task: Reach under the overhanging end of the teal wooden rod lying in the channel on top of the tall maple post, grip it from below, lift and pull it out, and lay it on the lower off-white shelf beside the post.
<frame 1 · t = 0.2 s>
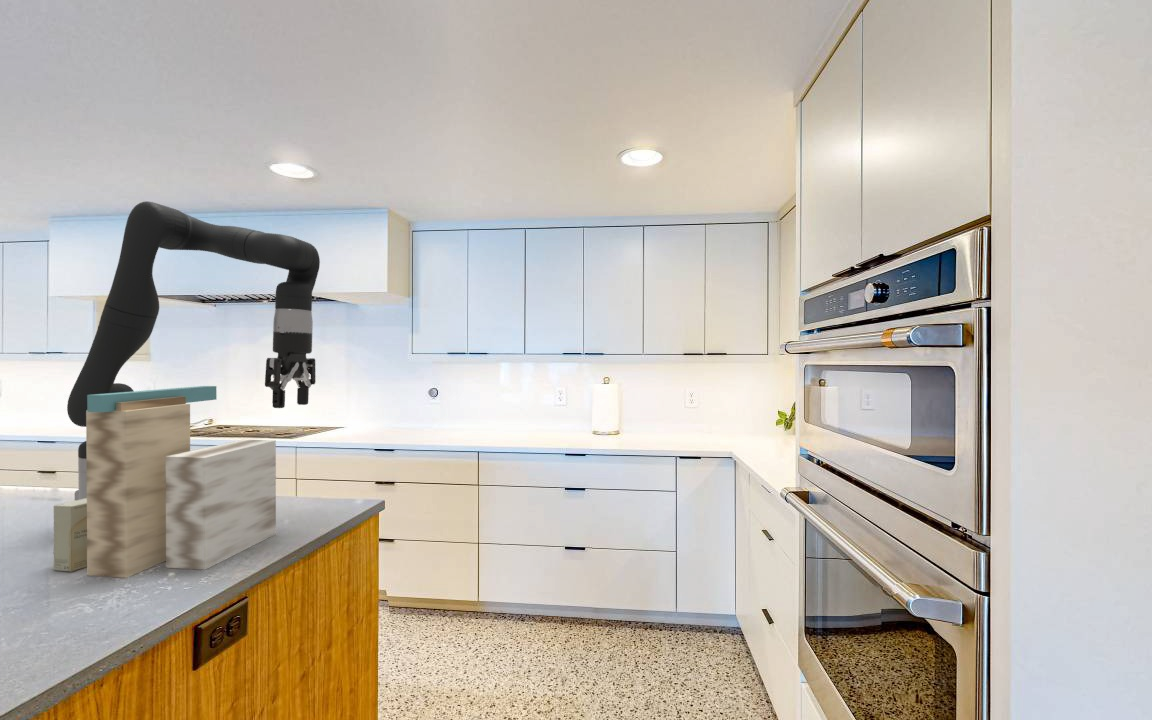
hand: (291, 406, 117), 29 cm above the counter, tool pointing down, fingers open, 8 cm apart
rod: (159, 405, 108), point 30 cm above the counter, touching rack
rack: (180, 557, 107), on the counter
skincare box: (80, 566, 103), on the counter
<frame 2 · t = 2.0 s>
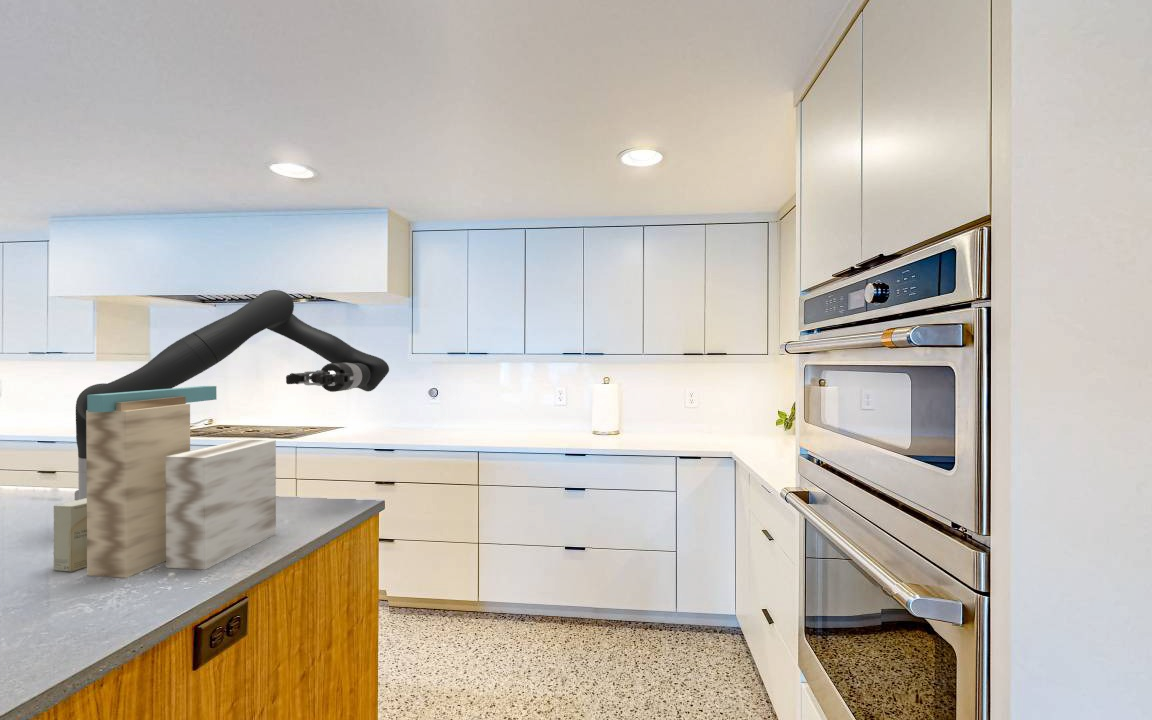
hand: (304, 379, 129), 34 cm above the counter, tool horizontal, fingers open, 8 cm apart
nothing on the counter moved.
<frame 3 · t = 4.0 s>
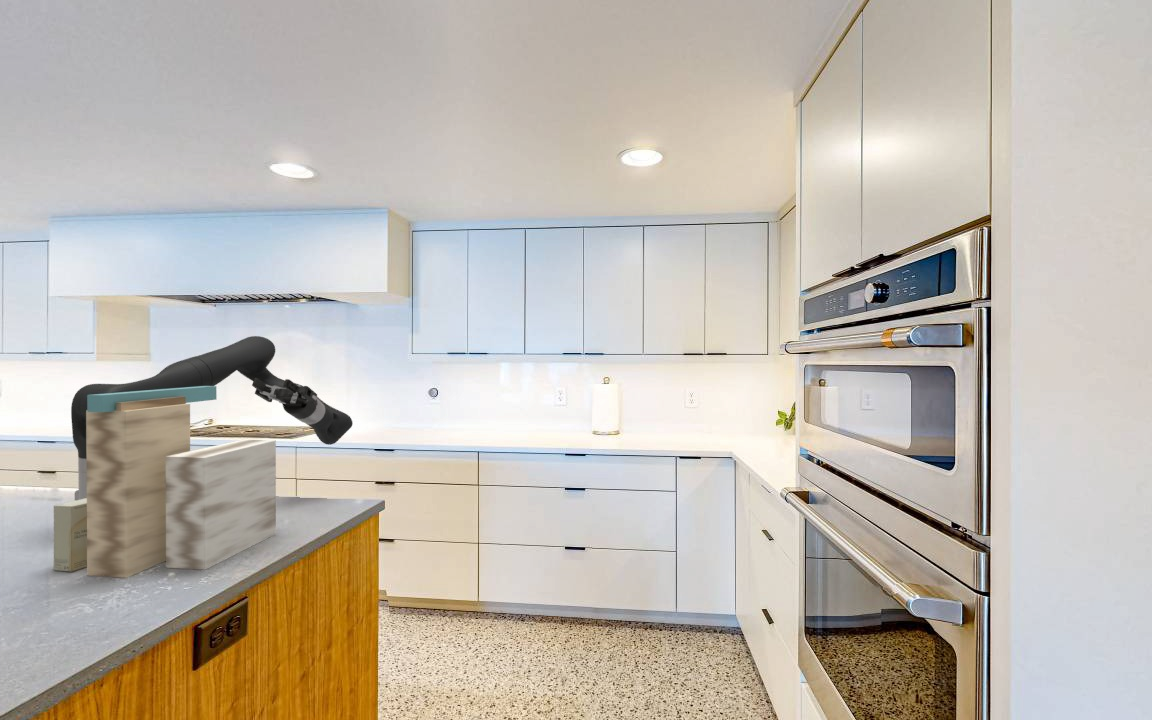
hand: (270, 382, 137), 33 cm above the counter, tool pointing upward, fingers open, 8 cm apart
nothing on the counter moved.
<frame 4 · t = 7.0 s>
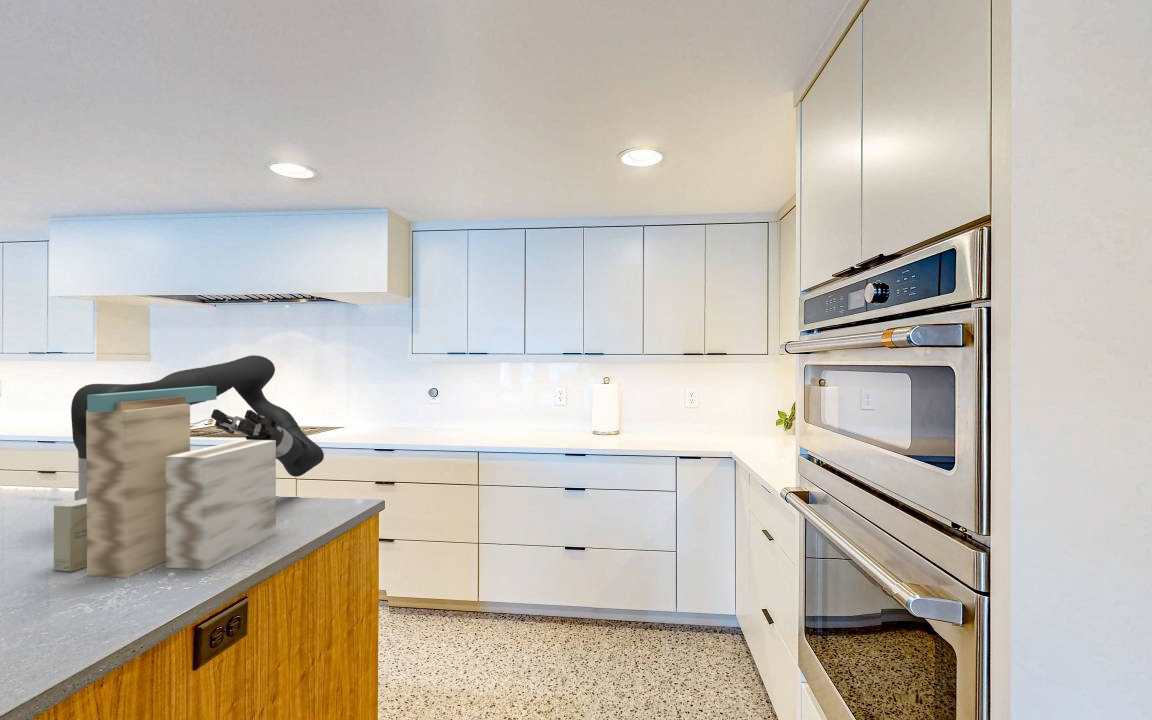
hand: (230, 413, 127), 26 cm above the counter, tool pointing upward, fingers open, 8 cm apart
nothing on the counter moved.
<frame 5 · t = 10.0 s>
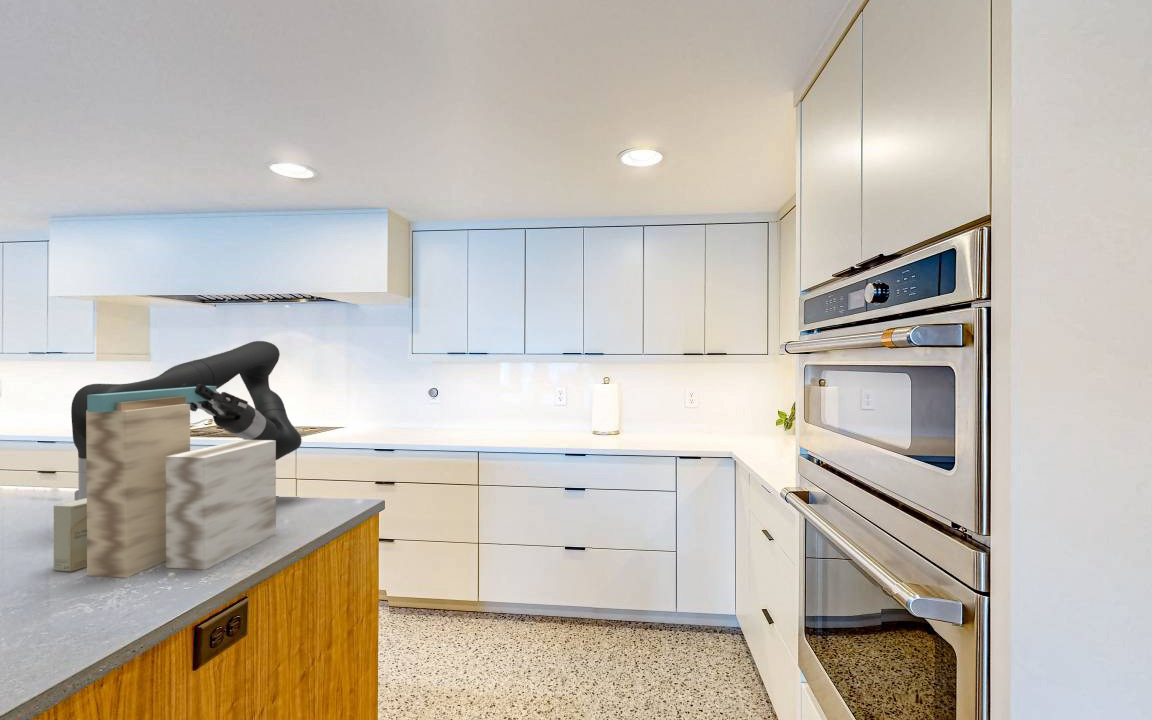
hand: (190, 387, 116), 33 cm above the counter, tool pointing upward, fingers closed on rod, 3 cm apart
rod: (159, 405, 108), point 30 cm above the counter, touching gripper, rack
everything else where it was.
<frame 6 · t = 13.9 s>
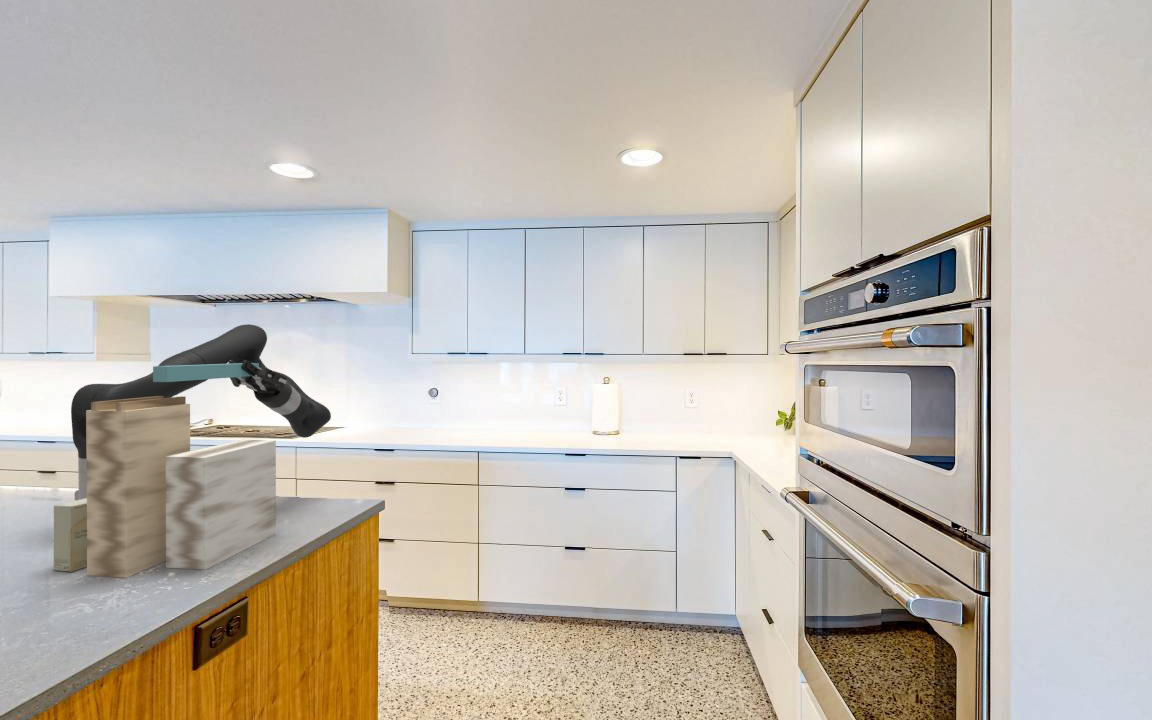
hand: (236, 363, 126), 38 cm above the counter, tool pointing upward, fingers closed on rod, 3 cm apart
rod: (211, 378, 118), point 35 cm above the counter, touching gripper
everything else where it was.
when the fingers open (26 cm above the counter, at t = 18.0 s): rod drops 2 cm, resting on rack.
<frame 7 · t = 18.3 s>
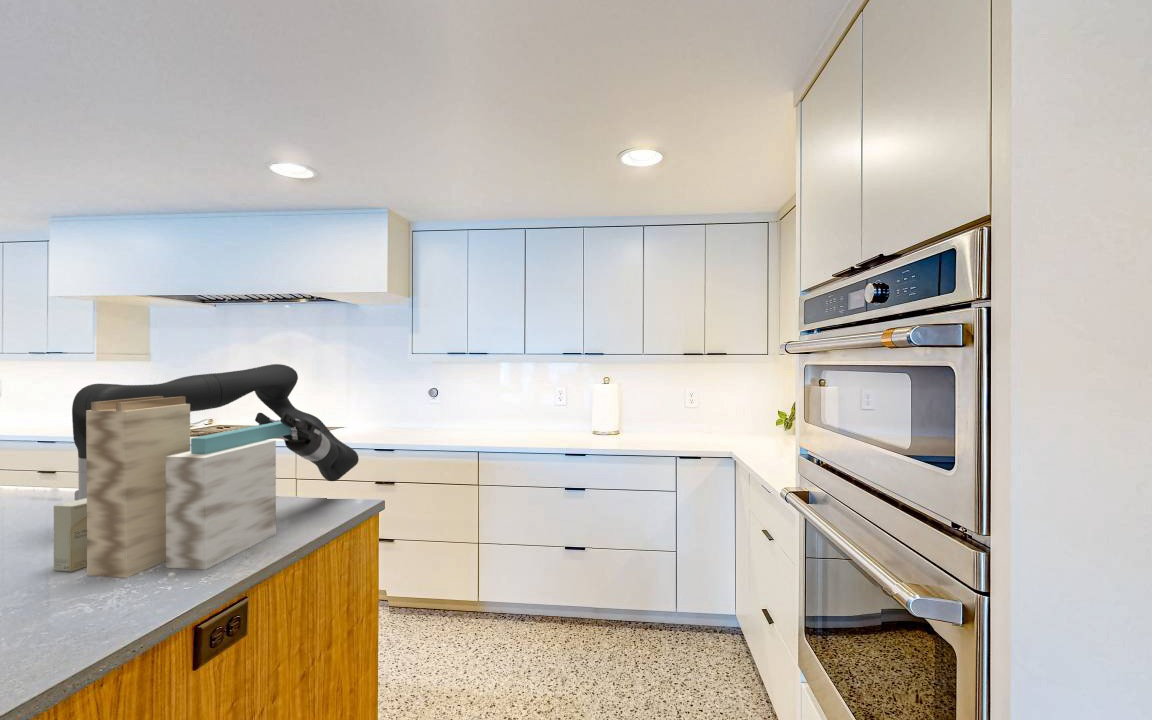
hand: (270, 416, 125), 26 cm above the counter, tool pointing upward, fingers open, 5 cm apart
rod: (246, 442, 117), point 21 cm above the counter, touching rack
everything else where it was.
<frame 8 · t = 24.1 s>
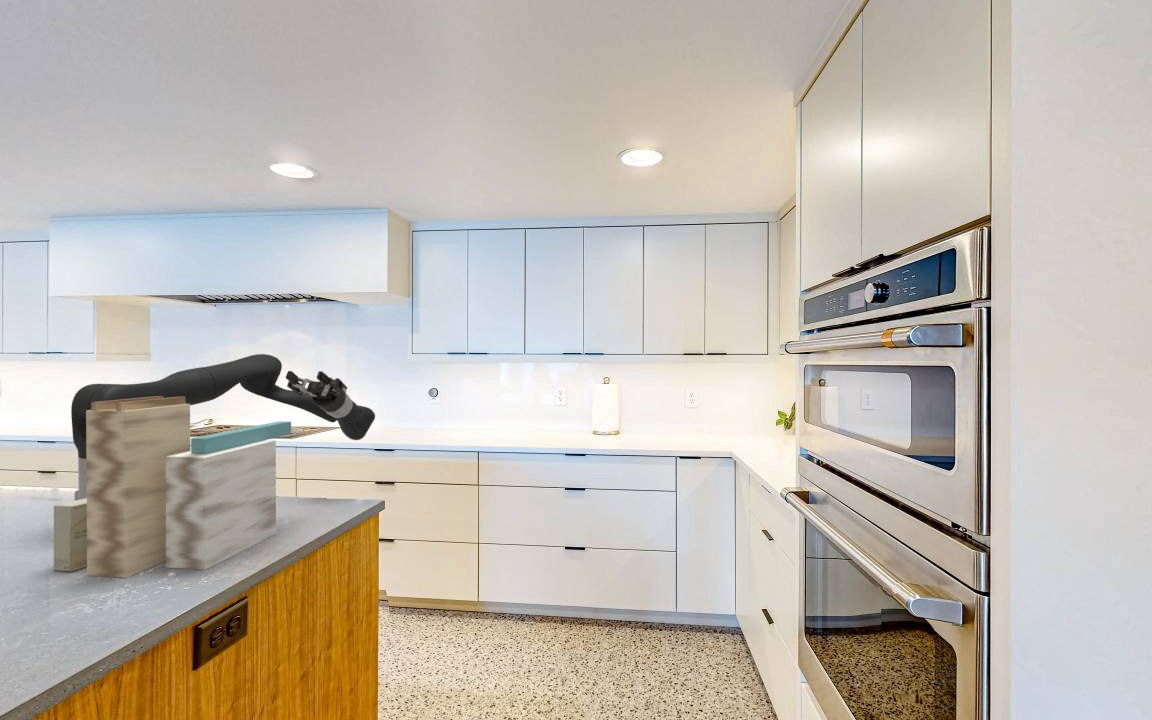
hand: (303, 374, 141), 35 cm above the counter, tool pointing upward, fingers open, 8 cm apart
nothing on the counter moved.
at the end: rod inside the target area (0.1 cm from its centre), point 21.0 cm above the counter; the gripper is holding nothing; rod tilted 0° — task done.
